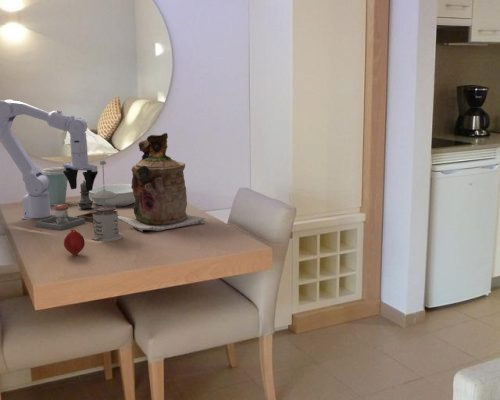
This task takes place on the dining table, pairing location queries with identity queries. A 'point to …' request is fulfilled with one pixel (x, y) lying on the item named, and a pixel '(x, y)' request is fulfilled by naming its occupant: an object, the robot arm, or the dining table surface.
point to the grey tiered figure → (84, 197)
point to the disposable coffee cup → (56, 185)
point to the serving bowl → (122, 191)
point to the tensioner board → (88, 216)
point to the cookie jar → (159, 189)
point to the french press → (105, 216)
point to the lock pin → (61, 213)
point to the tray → (47, 224)
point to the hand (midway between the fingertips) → (81, 189)
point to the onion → (74, 242)
